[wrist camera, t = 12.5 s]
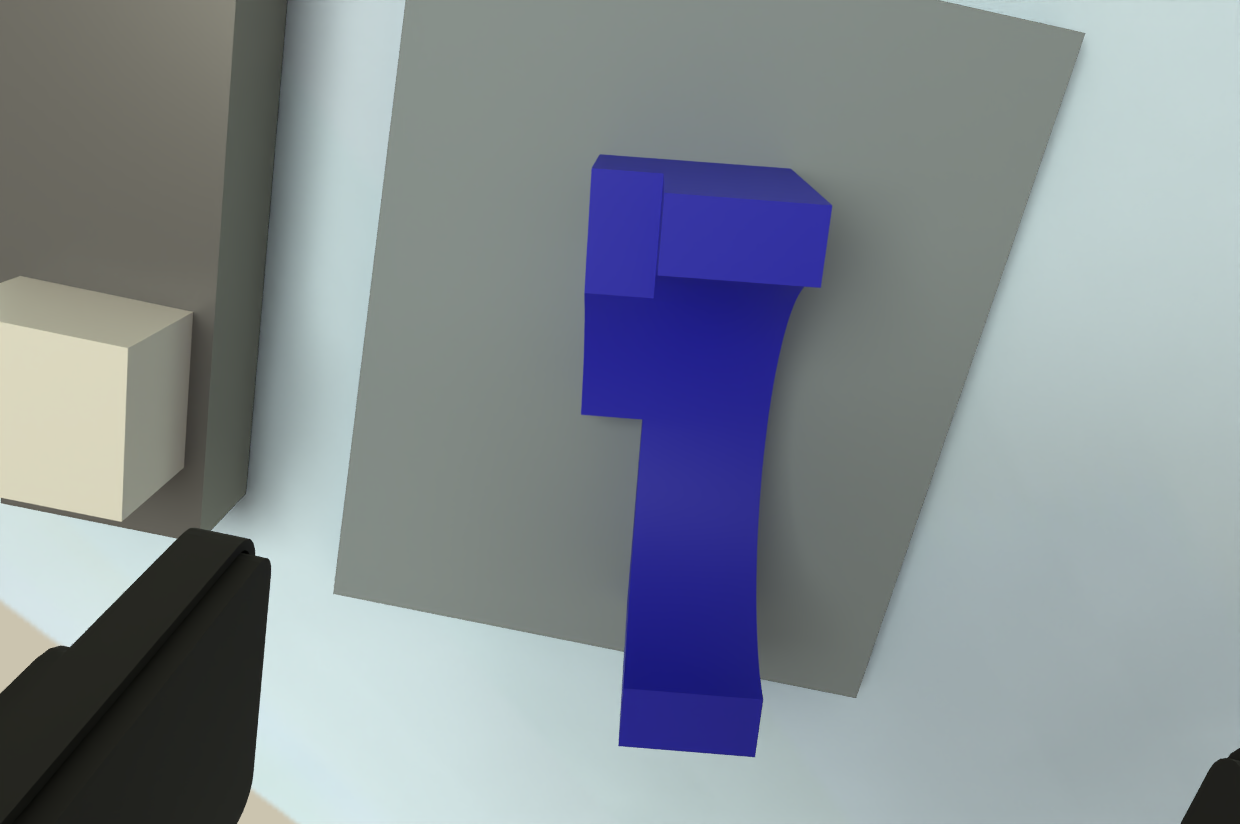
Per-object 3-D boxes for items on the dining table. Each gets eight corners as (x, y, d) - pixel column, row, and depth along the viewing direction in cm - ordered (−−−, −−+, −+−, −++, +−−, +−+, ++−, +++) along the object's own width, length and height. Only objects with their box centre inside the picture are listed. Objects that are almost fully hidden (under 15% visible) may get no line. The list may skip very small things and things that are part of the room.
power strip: (298, -139, 22) (177, -203, 17) (245, 493, 28) (140, 604, 22) (77, -189, 22) (-119, -269, 17) (67, 457, 28) (-84, 560, 22)
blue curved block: (599, 154, 23) (580, 186, 18) (790, 168, 23) (832, 205, 18) (572, 599, 28) (550, 740, 22) (735, 612, 28) (754, 756, 22)
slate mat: (1068, 34, 23) (1085, 32, 22) (849, 677, 29) (855, 698, 28) (430, -110, 23) (420, -117, 22) (343, 575, 29) (333, 593, 28)
